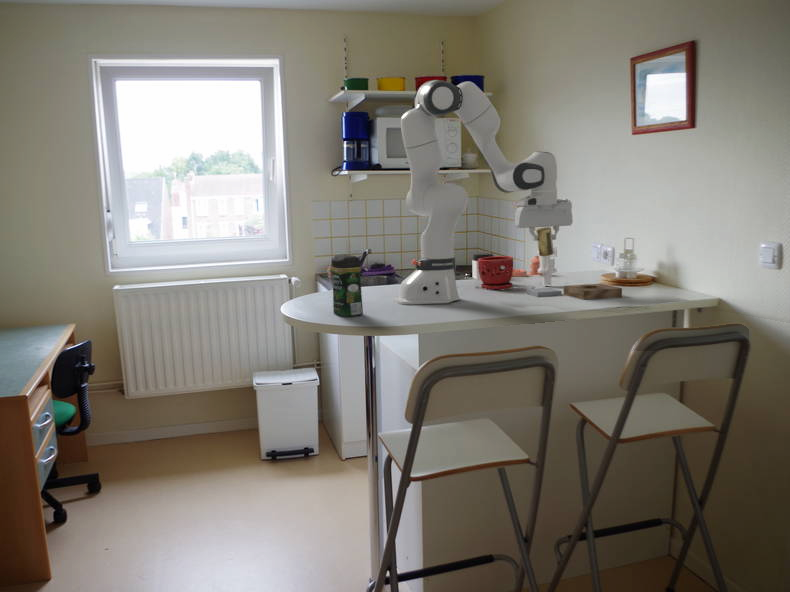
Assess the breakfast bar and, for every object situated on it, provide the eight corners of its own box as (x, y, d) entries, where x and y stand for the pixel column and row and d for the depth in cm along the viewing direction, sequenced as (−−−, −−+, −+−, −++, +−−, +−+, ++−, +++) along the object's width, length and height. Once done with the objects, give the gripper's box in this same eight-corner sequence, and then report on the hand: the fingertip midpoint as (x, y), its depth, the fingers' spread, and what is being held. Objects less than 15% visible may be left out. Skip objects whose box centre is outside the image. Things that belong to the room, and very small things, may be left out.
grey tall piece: (558, 287, 253) (558, 247, 251) (539, 288, 253) (539, 248, 251) (554, 285, 260) (554, 246, 258) (536, 285, 260) (536, 246, 258)
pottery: (504, 282, 273) (504, 258, 272) (499, 279, 283) (498, 256, 281) (548, 280, 275) (548, 256, 273) (541, 278, 284) (541, 254, 283)
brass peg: (536, 254, 237) (533, 229, 234) (548, 251, 238) (545, 226, 236) (544, 256, 232) (541, 231, 230) (557, 253, 233) (554, 228, 231)
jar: (485, 285, 266) (484, 255, 264) (468, 283, 271) (468, 254, 270) (498, 282, 272) (498, 253, 270) (482, 281, 278) (481, 252, 276)
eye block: (583, 299, 222) (583, 290, 221) (563, 294, 235) (563, 285, 235) (621, 297, 225) (622, 288, 225) (599, 291, 238) (600, 283, 238)
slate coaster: (537, 296, 231) (537, 292, 231) (526, 293, 240) (526, 289, 240) (561, 295, 234) (561, 290, 233) (549, 291, 242) (549, 287, 242)
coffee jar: (329, 314, 209) (327, 254, 206) (353, 311, 212) (350, 252, 210) (342, 319, 200) (339, 256, 197) (366, 316, 204) (364, 254, 201)
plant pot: (496, 285, 263) (495, 255, 261) (520, 289, 252) (520, 257, 251) (471, 289, 255) (470, 257, 254) (495, 292, 245) (495, 259, 243)
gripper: (567, 198, 237) (567, 238, 239) (512, 200, 233) (513, 241, 235) (576, 198, 231) (575, 239, 233) (520, 200, 227) (520, 242, 229)
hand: (544, 240), depth 234 cm, fingers closed on brass peg, 5 cm apart
